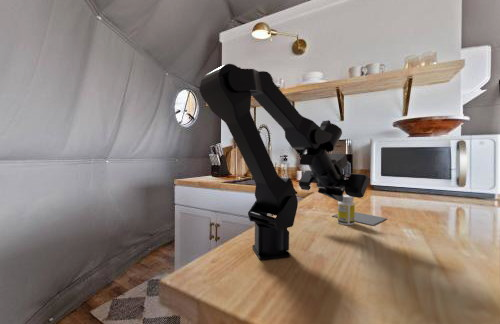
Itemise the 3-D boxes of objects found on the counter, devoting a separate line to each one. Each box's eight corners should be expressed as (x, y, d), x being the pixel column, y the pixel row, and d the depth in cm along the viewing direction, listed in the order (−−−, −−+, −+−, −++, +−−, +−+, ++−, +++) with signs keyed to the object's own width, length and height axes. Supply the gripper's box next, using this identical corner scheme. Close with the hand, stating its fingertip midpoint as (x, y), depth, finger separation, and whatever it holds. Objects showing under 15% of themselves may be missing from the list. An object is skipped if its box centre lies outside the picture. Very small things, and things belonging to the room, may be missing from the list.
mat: (372, 225, 68) (372, 224, 68) (332, 216, 78) (332, 215, 78) (386, 219, 75) (386, 218, 75) (347, 211, 85) (347, 210, 85)
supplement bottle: (351, 221, 73) (351, 194, 72) (356, 225, 68) (357, 197, 68) (335, 220, 73) (336, 194, 73) (340, 225, 68) (340, 197, 68)
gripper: (367, 142, 57) (383, 182, 65) (304, 144, 71) (323, 177, 79) (351, 176, 52) (371, 215, 60) (287, 171, 66) (310, 203, 74)
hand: (341, 200), depth 68 cm, fingers closed
